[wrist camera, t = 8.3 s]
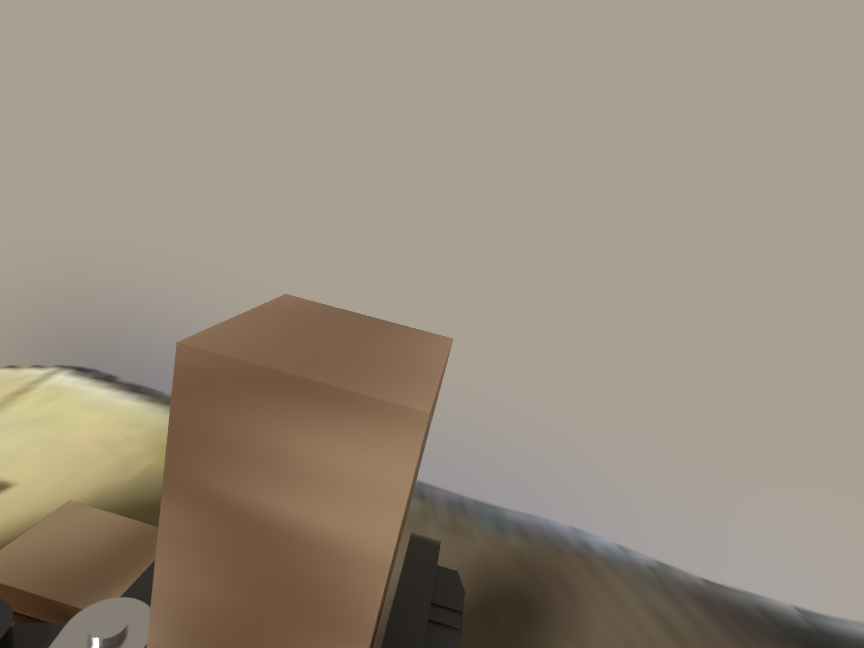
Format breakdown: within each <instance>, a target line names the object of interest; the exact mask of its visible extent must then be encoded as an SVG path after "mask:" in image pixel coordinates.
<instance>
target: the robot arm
mask: <svg viewBox="0 0 864 648" xmlns="http://www.w3.org/2000/svg"><path fill="white" fill-rule="evenodd" d="M440 544H441V541H438V540H435V539H431V538H428V537H425V536H421V535H418V534H415V533H411V536H410V540H409V544H408V548H407V551H406V555H405V559H404V563H403V566H402V570H401V574H400V578H399V581H398V585H397V589H396V593H395V596H394V600H393V604H392V608H391V612H390V615H389V619H388V623H387V627H386V631H385V634H384V638H383V642H382V646H381V648H460V642H461V630H462V618H463V616H462V614H463V606H464V594H465V591H464V588H463V585H462V583H461V580H460V577H459V574H458V572H457V571H455V570H452V569H448V568H445V567H442V566H438V565H437V562H438V556H439V550H440ZM154 567H155V561H154V562H153V563H152V564H151V565H150V566H149V567H148V568H147V569H146V570H145V571H144V572H143V573H142V574H141V575H140V576H139V577H138V578H137V580H136V581H135V582H134V583H133V584H132V585H131V586H130V587H129V588H128V589H127V590H126V591H125V592H124V593H123V594H122V595H121V596H120V597H119V598H111V599H107V600H103V601H100V602H97V603H95V604H93V605H90V606H89V607H87V608H85V609H83V610H82V611H80V612H79V613H78V614H76V615H75V616H74V617H73V618H72V619H71V620H70V621H68V622H57V623H13V611H12V608H11V606H10V604H9V603H8V602H7V601H5V600H3V599H2V598H0V648H146V647H147V637H148V627H149V617H150V607H151V597H152V587H153V577H154Z"/></svg>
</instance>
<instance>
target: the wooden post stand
mask: <svg viewBox="0 0 864 648" xmlns="http://www.w3.org/2000/svg"><path fill="white" fill-rule="evenodd" d="M452 341H453V339H452V338H448V337H445V336H441V335H437V334H433V333H430V332H426V331H422V330H418V329H415V328H411V327H407V326H403V325H400V324H396V323H392V322H388V321H385V320H381V319H377V318H373V317H370V316H366V315H362V314H359V313H355V312H351V311H347V310H344V309H340V308H335V307H332V306H329V305H325V304H321V303H317V302H313V301H310V300H306V299H302V298H299V297H295V296H291V295H287V294H285V295H283V296H280V297H278V298H276V299H273V300H271V301H269V302H267V303H265V304H262V305H260V306H258V307H256V308H253V309H251V310H249V311H247V312H244V313H242V314H240V315H237V316H235V317H233V318H231V319H229V320H226V321H224V322H222V323H220V324H217V325H215V326H213V327H211V328H208V329H206V330H204V331H201V332H199V333H197V334H195V335H192V336H190V337H188V338H186V339H183V340H181V341H179V342H177V346H176V356H175V366H174V376H173V386H172V396H171V406H170V416H169V426H168V436H167V446H166V456H165V466H164V476H163V486H162V496H161V506H160V516H159V526H158V536H157V547H156V557H155V567H154V577H153V587H152V597H151V607H150V617H149V627H148V637H147V647H146V648H372V646H373V643H374V639H375V635H376V631H377V627H378V624H379V620H380V616H381V612H382V608H383V605H384V601H385V597H386V593H387V589H388V585H389V582H390V578H391V574H392V570H393V566H394V563H395V559H396V555H397V551H398V547H399V543H400V540H401V536H402V532H403V528H404V524H405V521H406V517H407V513H408V509H409V505H410V502H411V498H412V494H413V490H414V486H415V482H416V479H417V475H418V471H419V467H420V463H421V459H422V456H423V452H424V448H425V444H426V440H427V437H428V433H429V429H430V425H431V421H432V418H433V414H434V410H435V406H436V402H437V398H438V395H439V391H440V387H441V383H442V379H443V376H444V372H445V368H446V364H447V360H448V357H449V353H450V349H451V345H452ZM13 623H14V622H13Z"/></svg>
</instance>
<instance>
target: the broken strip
mask: <svg viewBox="0 0 864 648" xmlns="http://www.w3.org/2000/svg"><path fill="white" fill-rule="evenodd" d="M157 536H158V527H157V526H153V525H150V524H147V523H143V522H140V521H137V520H134V519H130V518H127V517H124V516H120V515H117V514H114V513H110V512H107V511H104V510H101V509H97V508H94V507H91V506H87V505H84V504H81V503H78V502H74V501H71V500H70V501H69V502H67V503H66V504H65V505H63V506H62V507H60V508H59V509H57V510H56V511H55V512H53V513H52V514H50V515H49V516H48V517H46V518H45V519H43V520H42V521H40V522H39V523H38V524H36V525H35V526H33V527H32V528H30V529H29V530H28V531H26V532H25V533H23V534H22V535H21V536H19V537H18V538H16V539H15V540H13V541H12V542H11V543H9V544H8V545H6V546H5V547H3V548H2V549H1V550H0V598H2V599H3V600H5V601H7V602H8V603H9V604H10V606H11V608H12V611H14V612H17V613H20V614H24V615H27V616H30V617H33V618H36V619H39V620H42V621H45V622H48V623H57V622H68V621H70V620H71V619H72V618H73V617H74V616H75V615H76V614H78V613H79V612H80V611H82V610H83V609H85V608H87V607H89V606H90V605H93V604H95V603H97V602H100V601H103V600H107V599H111V598H119V597H120V596H121V595H122V594H123V593H124V592H125V591H126V590H127V589H128V588H129V587H130V586H131V585H132V584H133V583H134V582H135V581H136V580H137V578H138V577H139V576H140V575H141V574H142V573H143V572H144V571H145V570H146V569H147V568H148V567H149V566H150V565H151V564H152V563H153V562H154V561H155V557H156V547H157Z"/></svg>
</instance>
